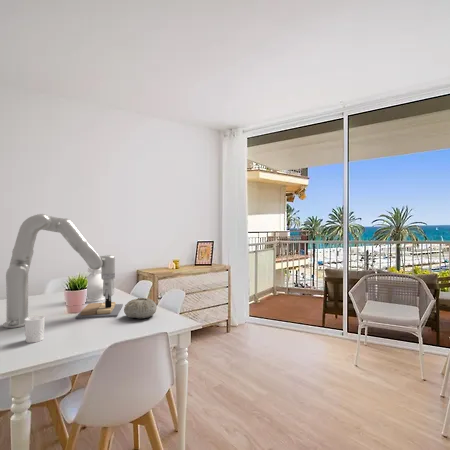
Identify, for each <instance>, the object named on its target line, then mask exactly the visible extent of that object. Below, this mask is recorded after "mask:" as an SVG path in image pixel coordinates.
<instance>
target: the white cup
mask: <svg viewBox="0 0 450 450" xmlns="http://www.w3.org/2000/svg"><path fill="white" fill-rule="evenodd" d="M45 320H46V317H45V315H34V316H33V315H32V316H28V318H25V326H24V332H25V333H24V334H25V342H26V343H29V344H31V343H32V344H33V343H34V344H35V343H38V342H41V341H43V340H44V337H45V336H44V335H45V322H46V321H45Z"/></svg>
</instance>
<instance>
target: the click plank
mask: <svg viewBox="0 0 450 450" xmlns="http://www.w3.org/2000/svg"><path fill="white" fill-rule="evenodd" d="M101 303H102V305H101V306H100V307H99V309H98V310H97V314H110V313H111V312H112V310H113V309H114V307H115V305H116V304H117V302H116V301H111V307H110V308H105V302H101Z"/></svg>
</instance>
